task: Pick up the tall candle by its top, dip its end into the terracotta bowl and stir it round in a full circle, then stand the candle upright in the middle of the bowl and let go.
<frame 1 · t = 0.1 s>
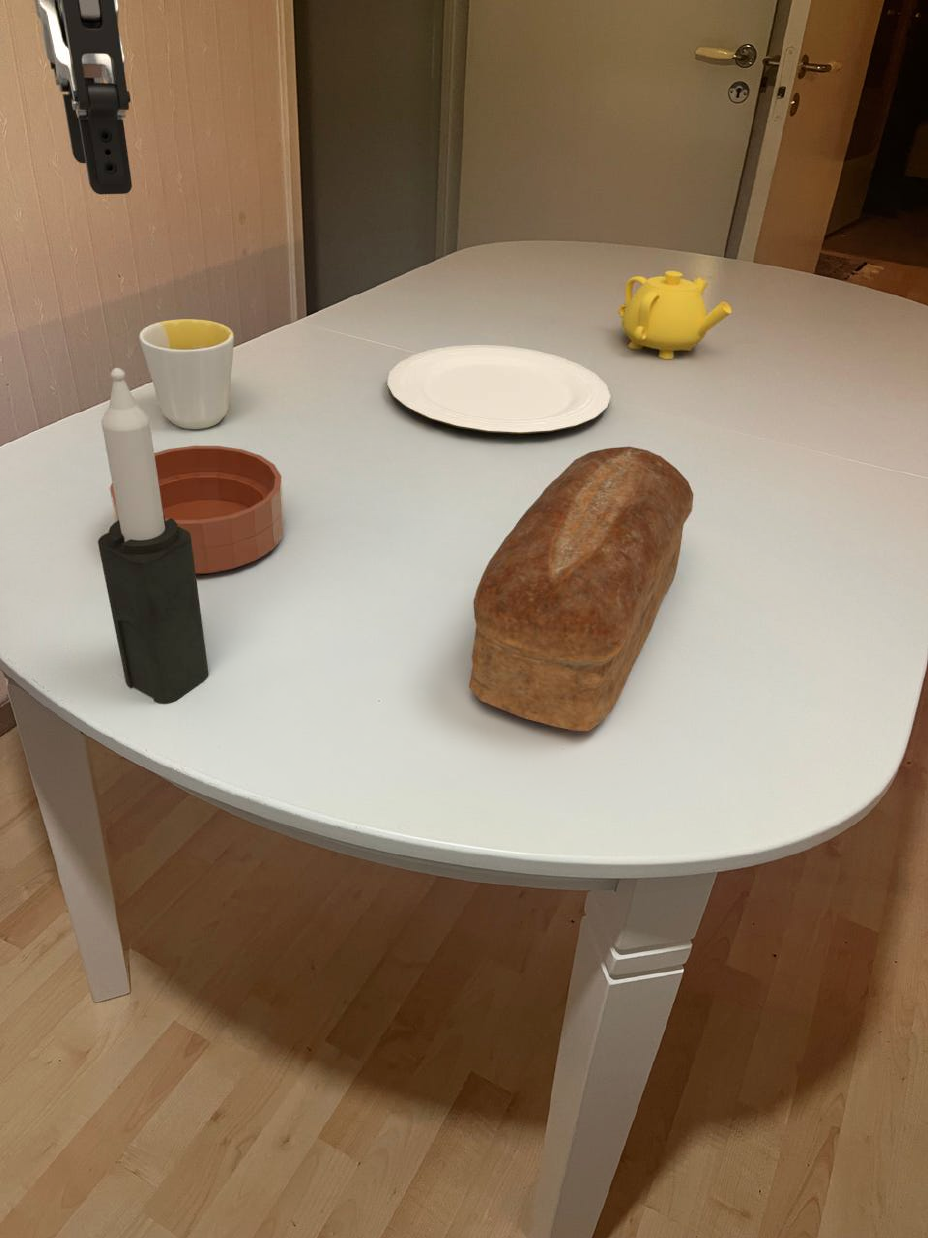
hand: (102, 176, 55), 35 cm above the table, tool pointing down, fingers open, 8 cm apart
bread: (579, 631, 81), on the table
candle: (167, 679, 72), on the table
teapot: (667, 348, 141), on the table
bowl: (204, 537, 89), on the table
plate: (497, 398, 122), on the table
mug: (205, 416, 112), on the table
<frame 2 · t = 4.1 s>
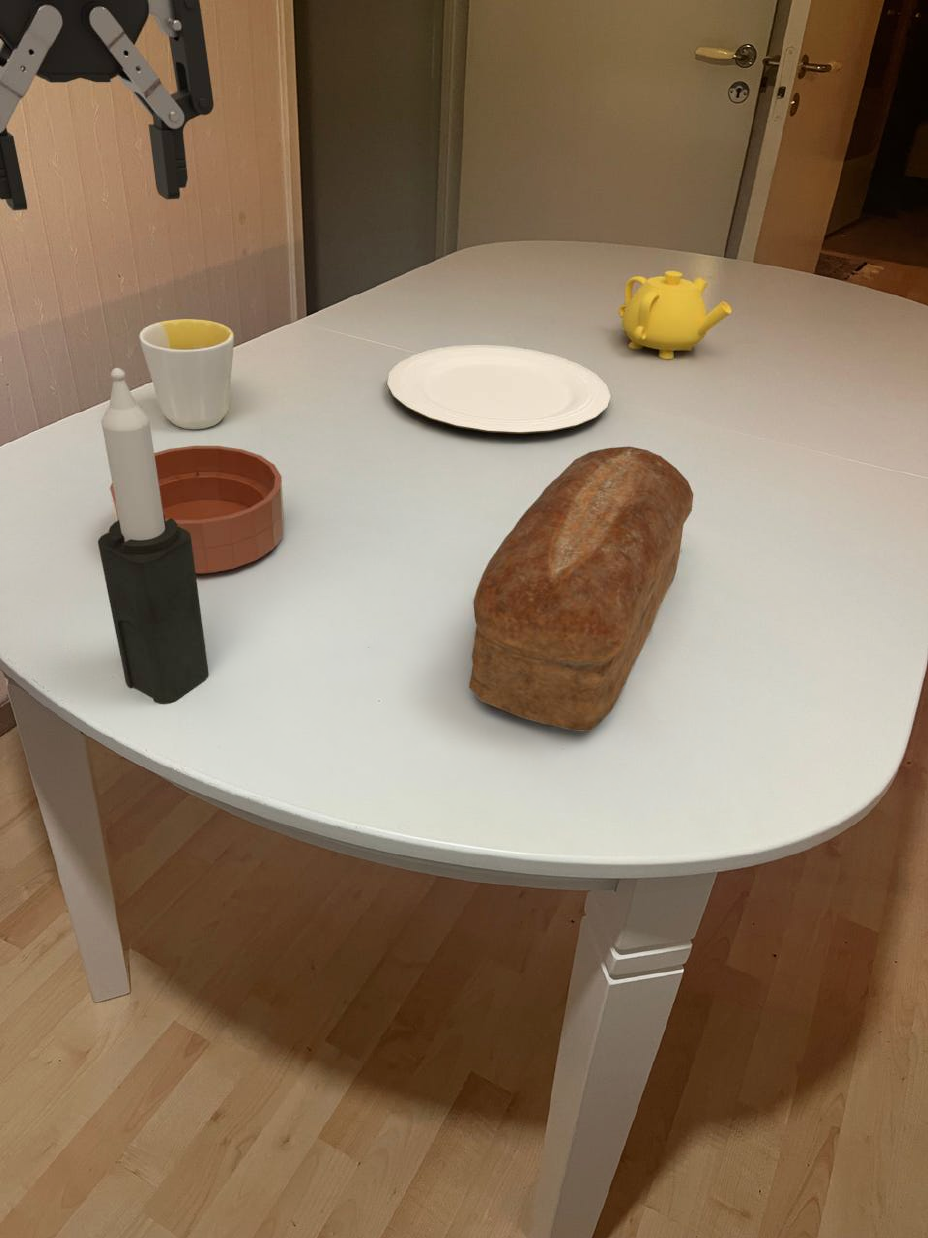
hand: (95, 201, 53), 34 cm above the table, tool pointing down, fingers open, 8 cm apart
nothing on the table moved.
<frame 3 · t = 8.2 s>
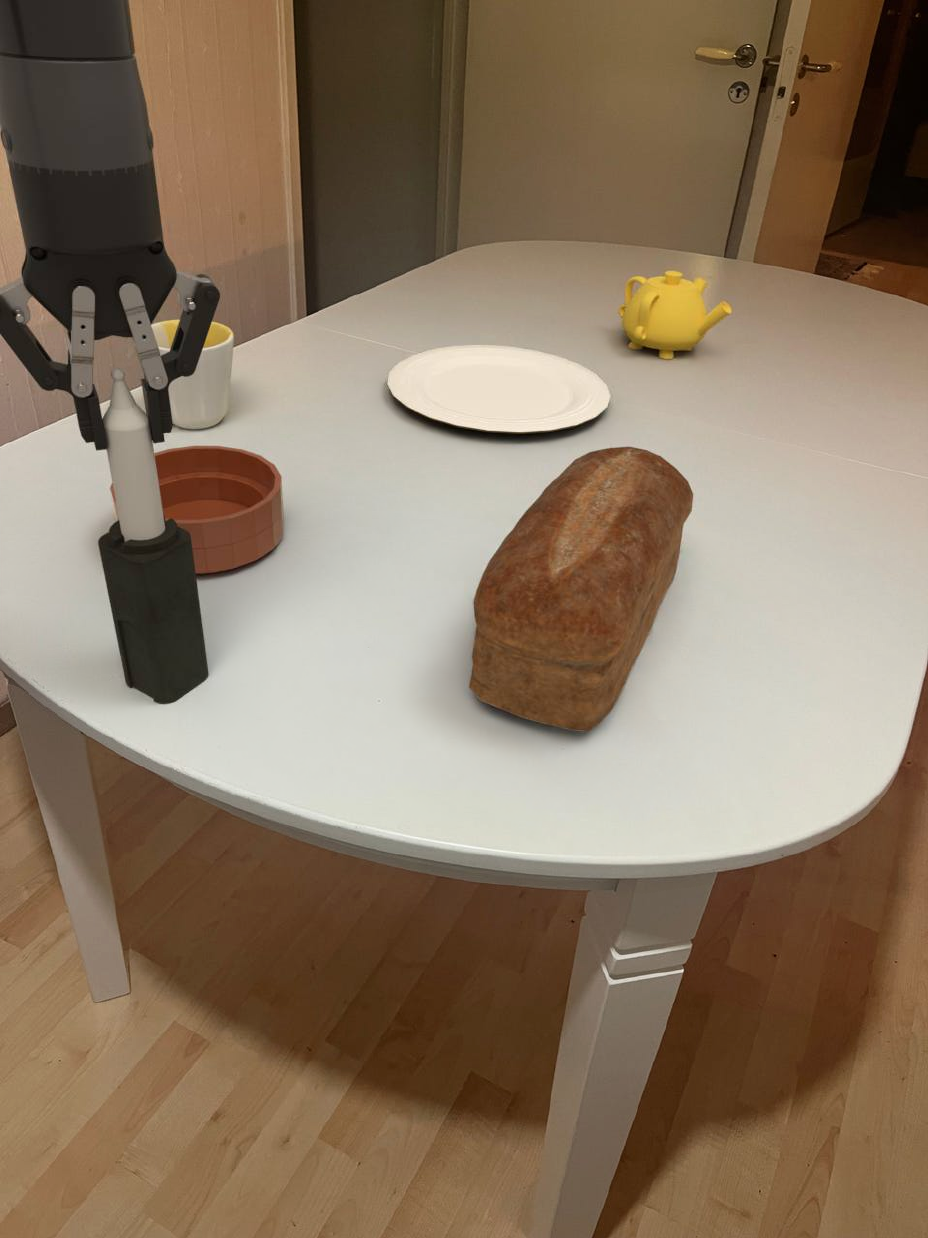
hand: (128, 440, 60), 20 cm above the table, tool pointing down, fingers closed on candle, 3 cm apart
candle: (167, 679, 72), on the table, touching gripper
everything else where it was.
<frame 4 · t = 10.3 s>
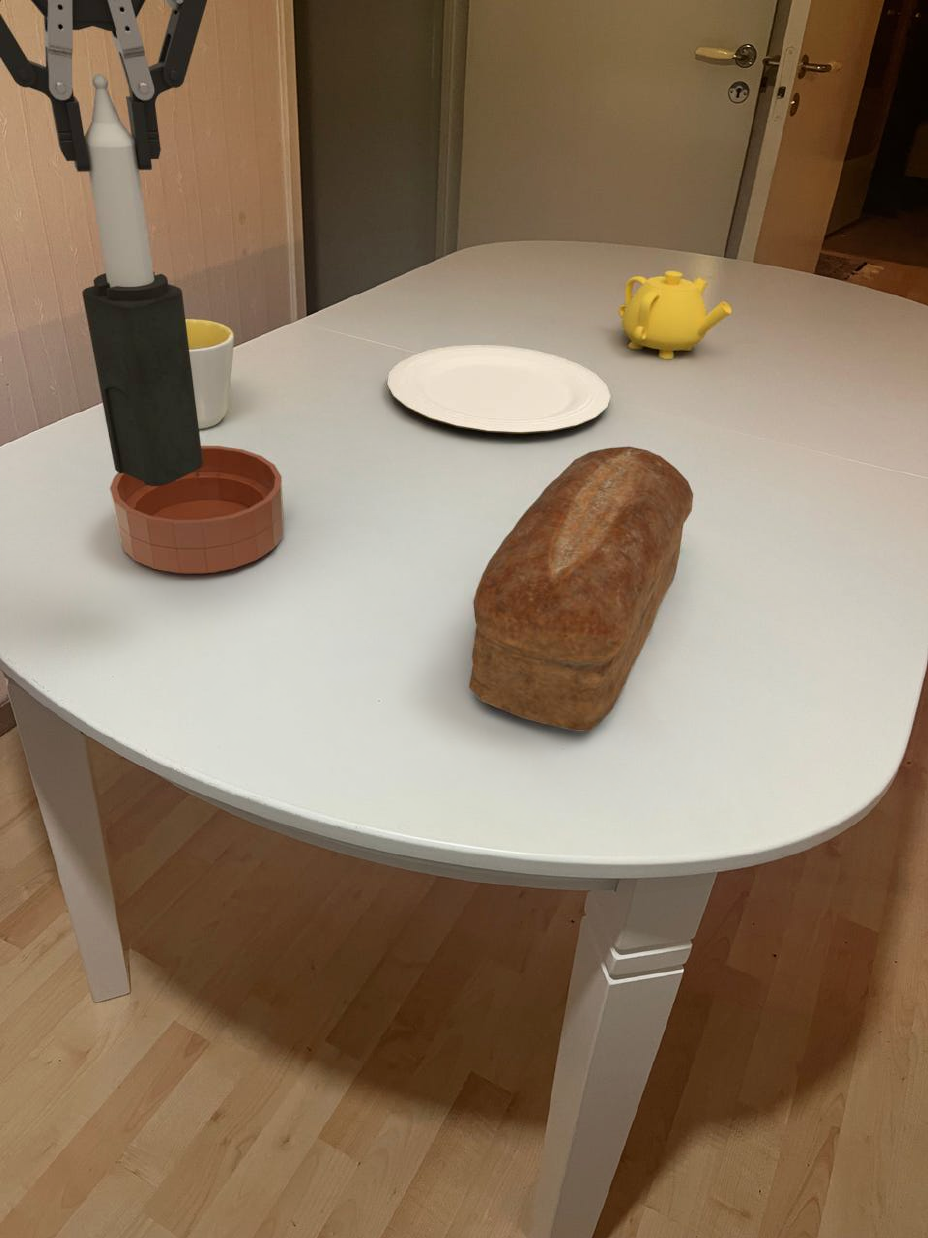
hand: (112, 166, 56), 35 cm above the table, tool pointing down, fingers closed on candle, 3 cm apart
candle: (159, 468, 68), point 15 cm above the table, touching gripper
everything else where it was.
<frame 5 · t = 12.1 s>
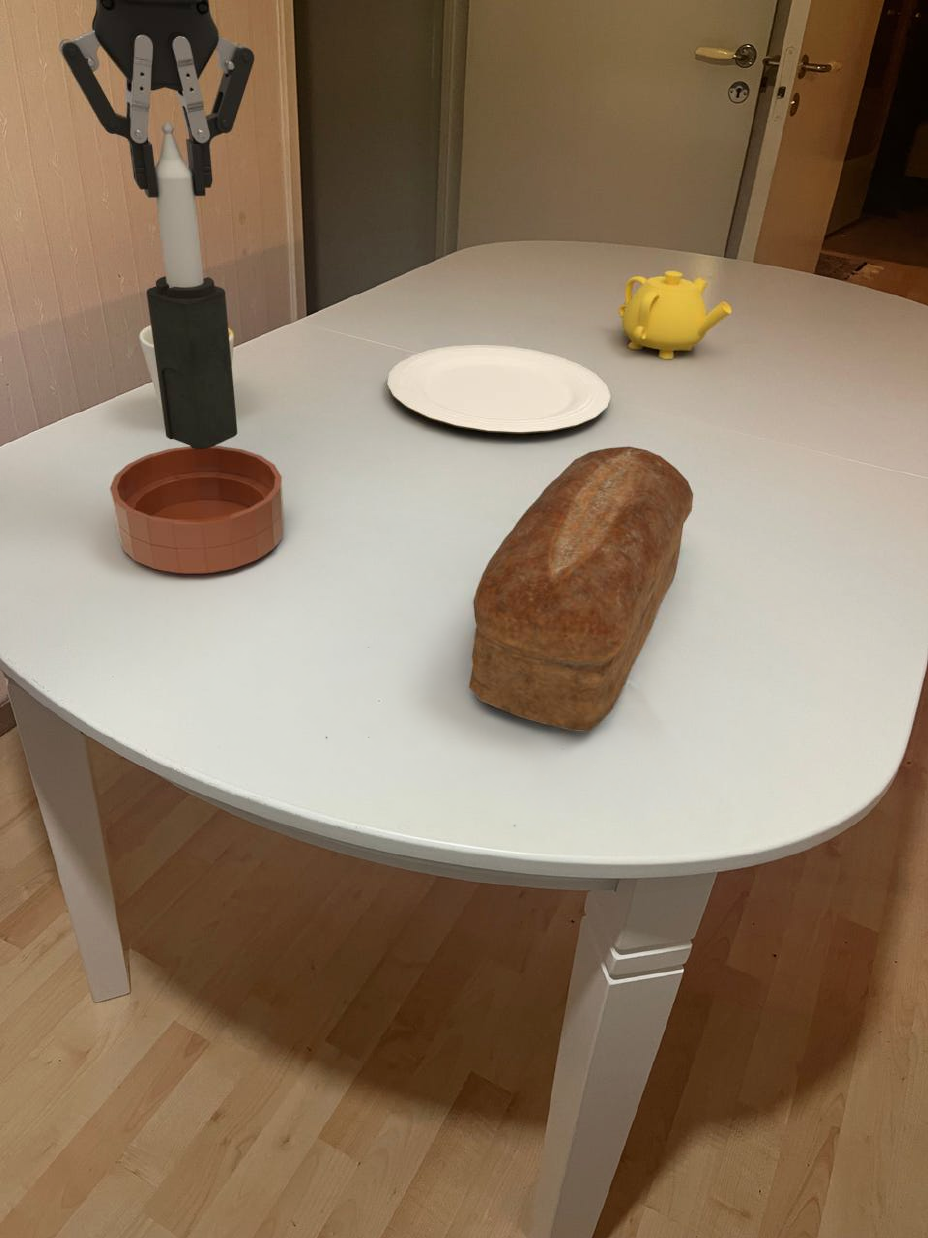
hand: (174, 193, 71), 31 cm above the table, tool pointing down, fingers closed on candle, 3 cm apart
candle: (202, 436, 83), point 10 cm above the table, touching gripper
everything else where it was.
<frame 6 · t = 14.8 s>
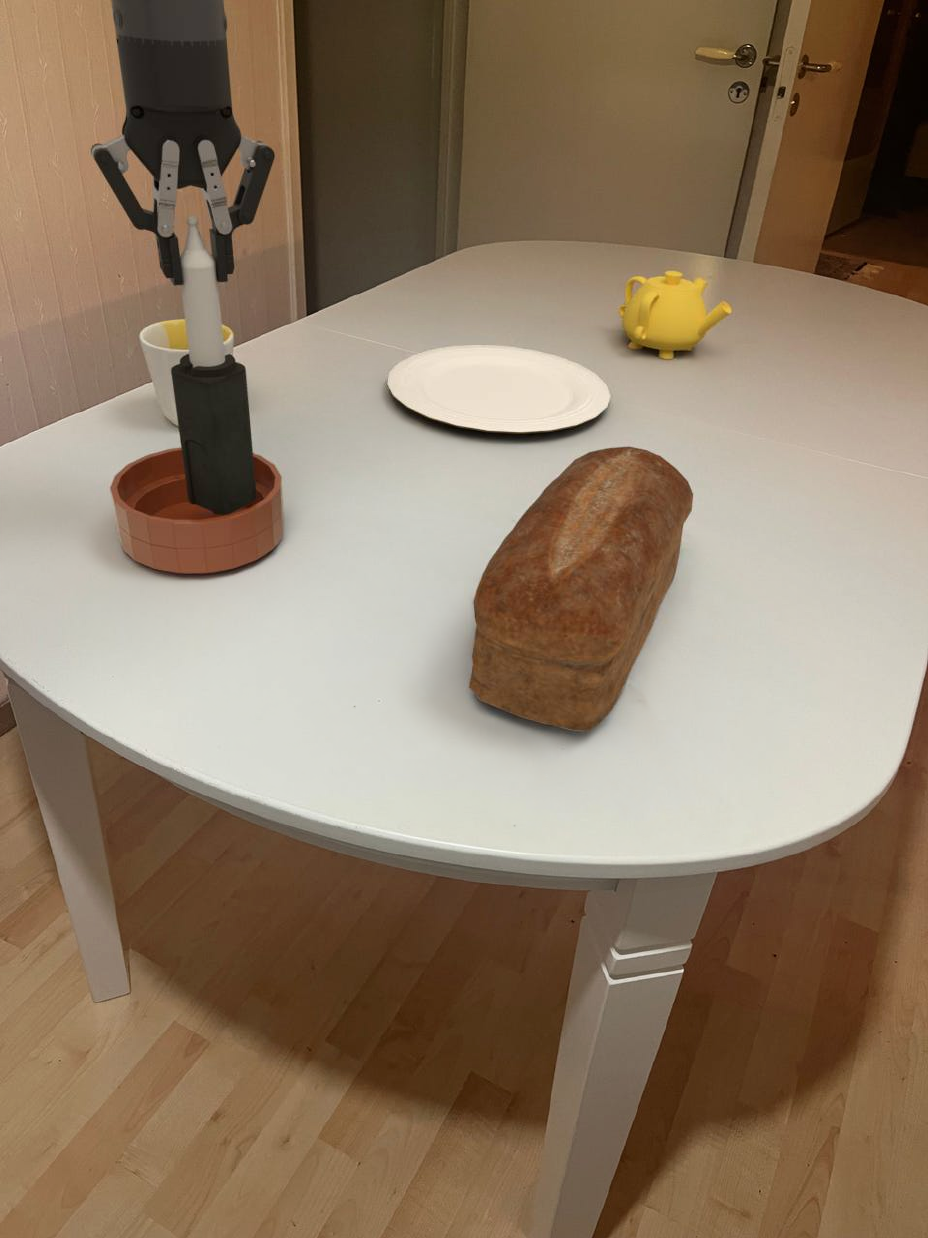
hand: (198, 279, 75), 24 cm above the table, tool pointing down, fingers closed on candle, 3 cm apart
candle: (222, 500, 87), point 4 cm above the table, touching gripper
everything else where it was.
when the fingers open (21 cm above the table, at t = 16.5 s): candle stays where it is, resting on bowl.
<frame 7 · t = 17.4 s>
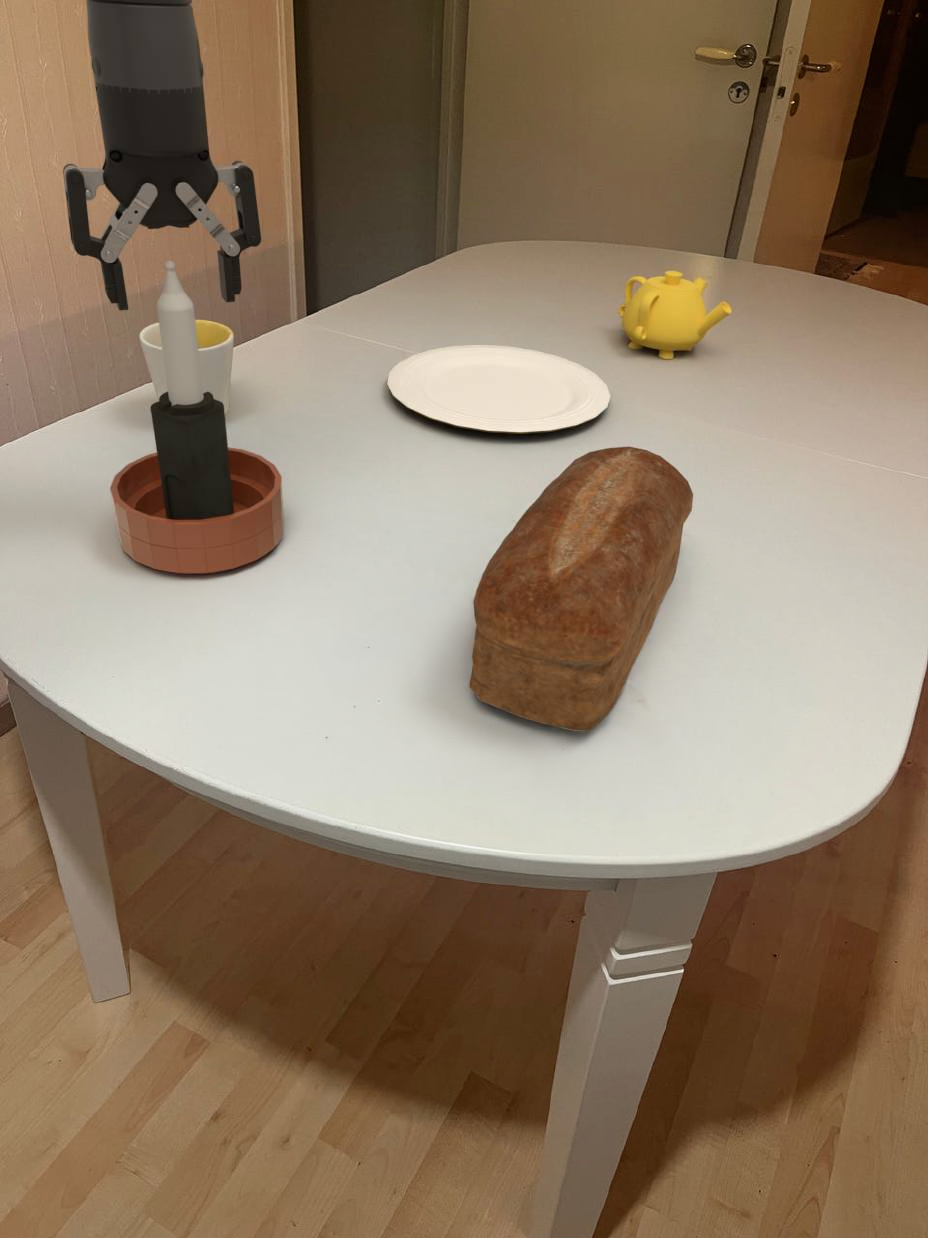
hand: (176, 303, 76), 22 cm above the table, tool pointing down, fingers open, 8 cm apart
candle: (202, 532, 89), point 1 cm above the table, touching bowl
everything else where it was.
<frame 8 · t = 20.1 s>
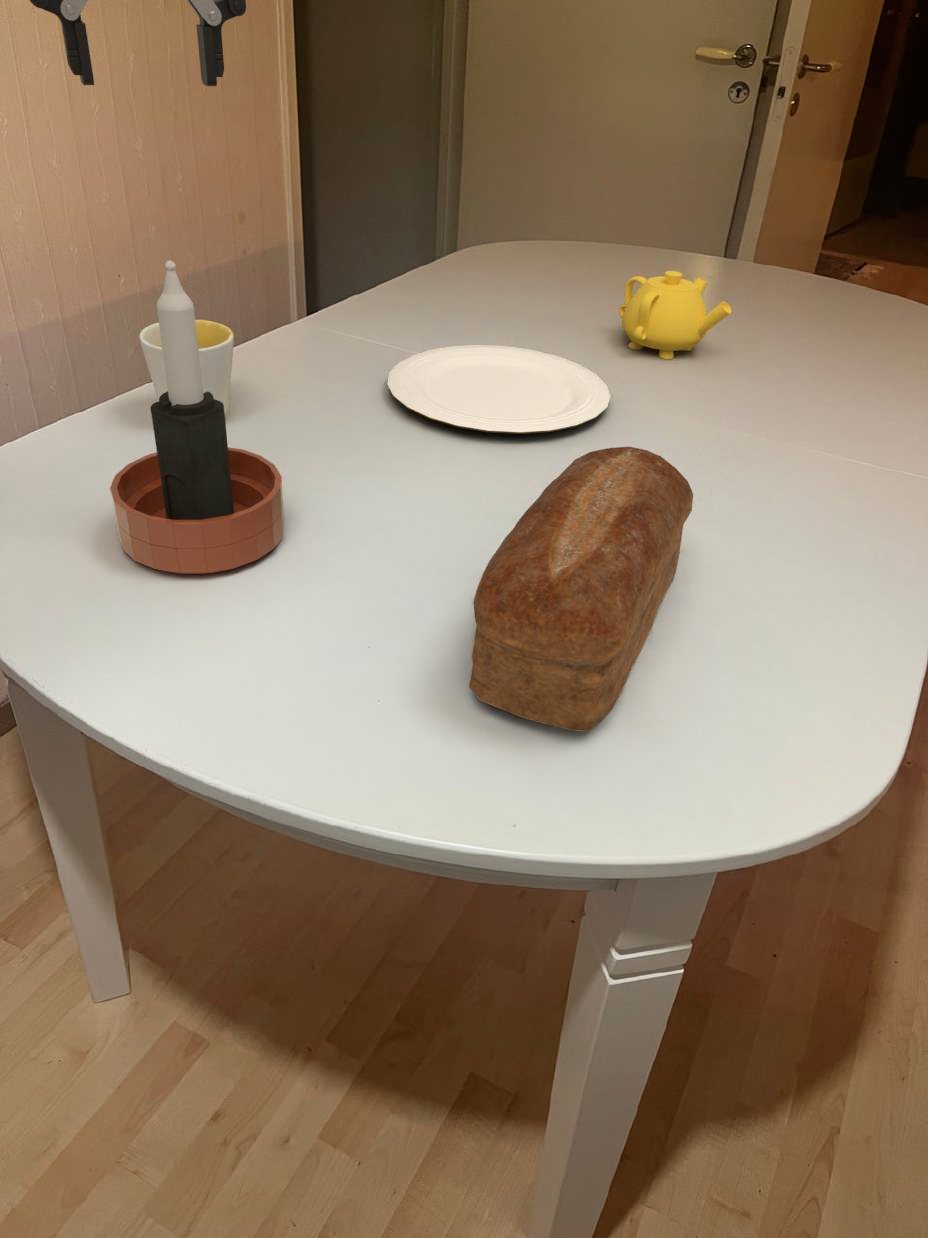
hand: (149, 84, 67), 38 cm above the table, tool pointing down, fingers open, 8 cm apart
nothing on the table moved.
at the end: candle inside the target area in the bowl (0.1 cm from its centre), point 0.6 cm above the bowl's base; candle tilted 0°; the gripper is holding nothing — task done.
